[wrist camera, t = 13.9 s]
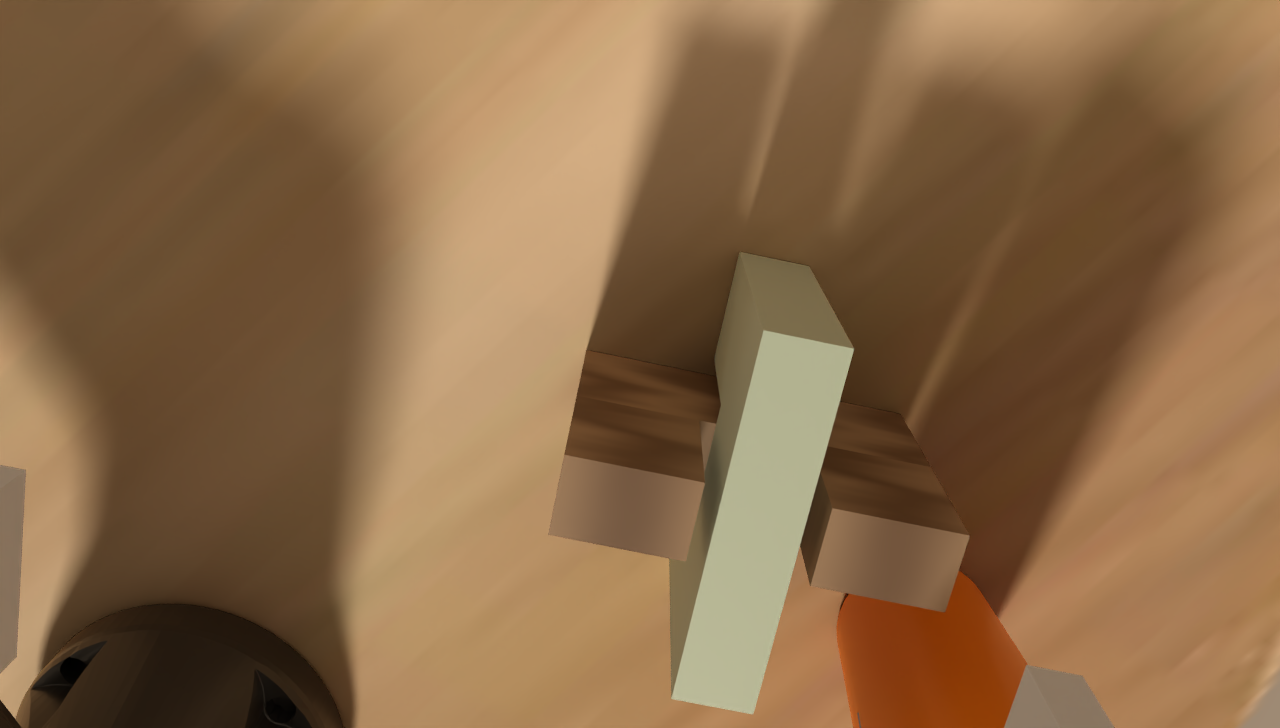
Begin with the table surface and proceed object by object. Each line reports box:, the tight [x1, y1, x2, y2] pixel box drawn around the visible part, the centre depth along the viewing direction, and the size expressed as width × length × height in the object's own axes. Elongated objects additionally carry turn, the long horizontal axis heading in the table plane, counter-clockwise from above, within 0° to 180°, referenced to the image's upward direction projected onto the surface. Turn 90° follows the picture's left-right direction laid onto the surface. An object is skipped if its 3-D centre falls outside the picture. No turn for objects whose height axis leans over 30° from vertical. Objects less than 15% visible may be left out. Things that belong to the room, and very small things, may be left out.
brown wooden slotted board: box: [548, 350, 970, 612], centre depth 45 cm, size 14×3×12 cm, turn 78°
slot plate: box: [669, 252, 854, 714], centre depth 45 cm, size 14×3×12 cm, turn 168°
